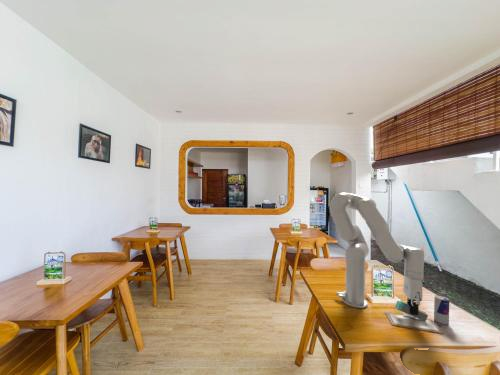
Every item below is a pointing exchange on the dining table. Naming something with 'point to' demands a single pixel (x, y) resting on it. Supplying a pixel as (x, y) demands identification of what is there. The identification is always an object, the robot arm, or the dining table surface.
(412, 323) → the clipboard
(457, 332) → the dining table surface
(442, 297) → the energy drink
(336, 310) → the dining table surface
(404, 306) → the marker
